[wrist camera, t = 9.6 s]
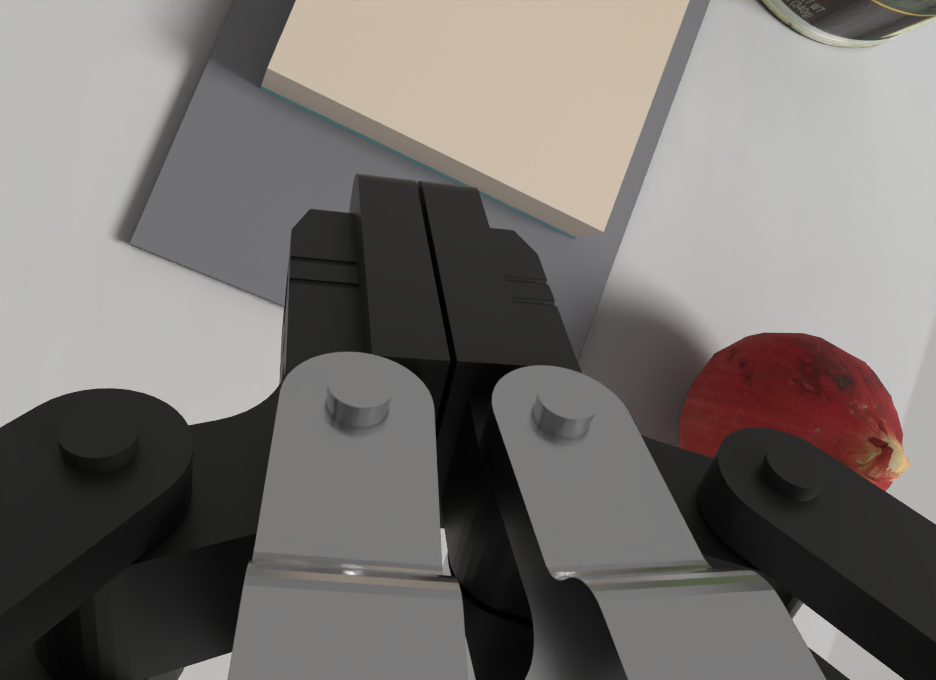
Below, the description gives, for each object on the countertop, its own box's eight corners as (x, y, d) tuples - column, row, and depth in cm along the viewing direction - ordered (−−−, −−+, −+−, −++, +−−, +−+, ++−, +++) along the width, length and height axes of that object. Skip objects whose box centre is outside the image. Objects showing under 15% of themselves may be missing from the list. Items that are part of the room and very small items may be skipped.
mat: (551, 414, 27) (557, 416, 26) (130, 244, 23) (129, 243, 23) (711, -18, 28) (718, -23, 28) (341, -247, 24) (344, -256, 24)
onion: (631, 331, 28) (802, 334, 20) (783, 331, 29) (993, 333, 22) (630, 514, 28) (801, 586, 20) (782, 503, 30) (990, 564, 22)
